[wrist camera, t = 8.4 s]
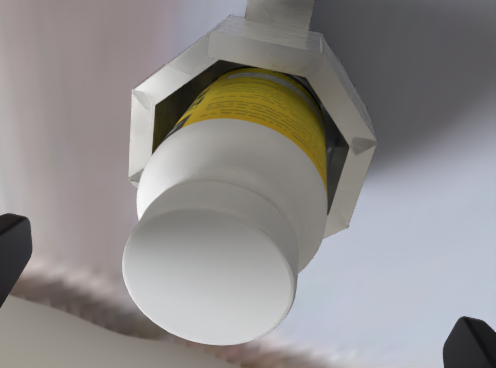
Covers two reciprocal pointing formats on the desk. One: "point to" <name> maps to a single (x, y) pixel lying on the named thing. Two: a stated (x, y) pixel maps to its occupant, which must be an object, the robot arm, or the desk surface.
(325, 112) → the cup bracket
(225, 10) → the desk surface
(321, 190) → the supplement bottle
